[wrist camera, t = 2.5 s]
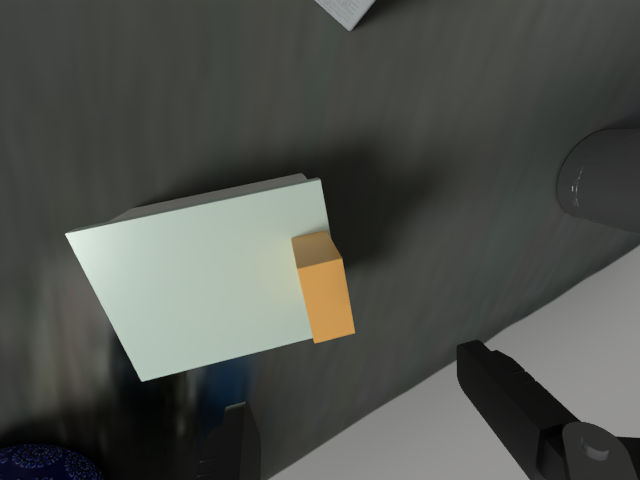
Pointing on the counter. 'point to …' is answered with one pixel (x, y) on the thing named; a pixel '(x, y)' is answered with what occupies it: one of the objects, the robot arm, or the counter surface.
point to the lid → (218, 277)
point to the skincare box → (346, 10)
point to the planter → (45, 463)
